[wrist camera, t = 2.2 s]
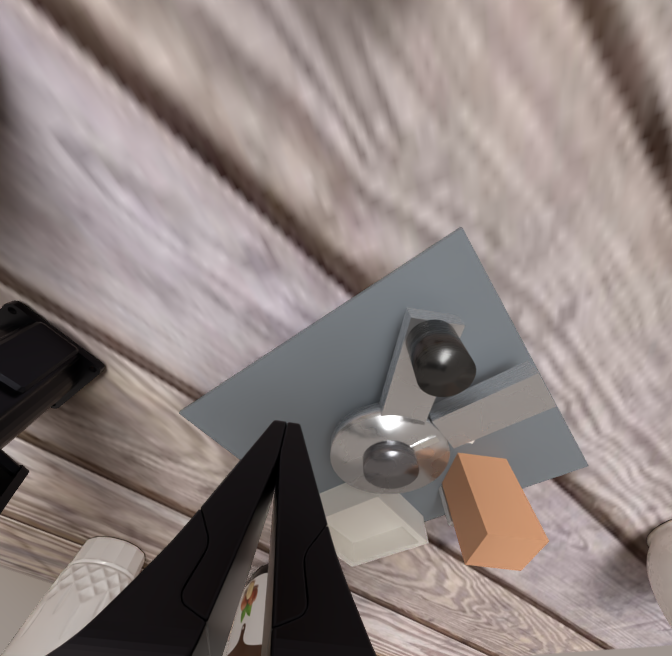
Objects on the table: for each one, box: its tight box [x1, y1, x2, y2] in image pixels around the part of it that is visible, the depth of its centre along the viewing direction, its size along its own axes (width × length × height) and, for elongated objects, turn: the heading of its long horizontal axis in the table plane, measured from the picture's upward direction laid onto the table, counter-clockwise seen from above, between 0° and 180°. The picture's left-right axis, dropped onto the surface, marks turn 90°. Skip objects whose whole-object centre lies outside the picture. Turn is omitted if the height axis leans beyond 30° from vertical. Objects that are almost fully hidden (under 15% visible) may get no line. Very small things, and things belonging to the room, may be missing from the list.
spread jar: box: [226, 565, 268, 656], centre depth 33 cm, size 12×11×12 cm
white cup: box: [0, 537, 145, 656], centre depth 31 cm, size 8×8×10 cm
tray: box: [320, 483, 429, 567], centre depth 28 cm, size 8×8×2 cm
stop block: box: [442, 453, 549, 571], centre depth 23 cm, size 4×4×6 cm
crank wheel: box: [330, 307, 556, 494], centre depth 18 cm, size 14×13×4 cm
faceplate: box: [179, 227, 588, 526], centre depth 23 cm, size 23×23×3 cm
